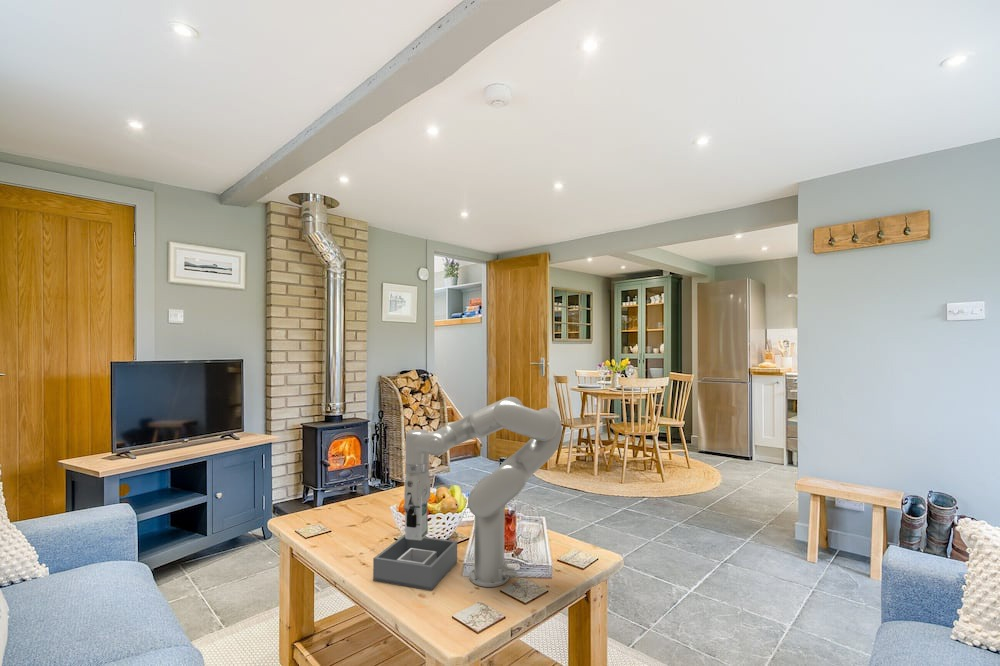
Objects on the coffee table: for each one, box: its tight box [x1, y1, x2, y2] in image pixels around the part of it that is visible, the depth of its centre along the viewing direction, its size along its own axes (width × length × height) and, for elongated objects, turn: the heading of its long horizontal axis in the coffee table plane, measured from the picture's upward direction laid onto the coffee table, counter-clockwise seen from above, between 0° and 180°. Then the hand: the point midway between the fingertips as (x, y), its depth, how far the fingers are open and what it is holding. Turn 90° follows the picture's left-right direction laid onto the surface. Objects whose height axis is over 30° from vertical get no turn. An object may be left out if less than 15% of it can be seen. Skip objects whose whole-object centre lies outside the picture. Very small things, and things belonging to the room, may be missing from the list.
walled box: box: [372, 533, 458, 592], centre depth 160 cm, size 20×20×7 cm
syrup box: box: [404, 495, 429, 540], centre depth 160 cm, size 6×6×14 cm
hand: (416, 522), depth 160 cm, fingers closed on syrup box, 6 cm apart
